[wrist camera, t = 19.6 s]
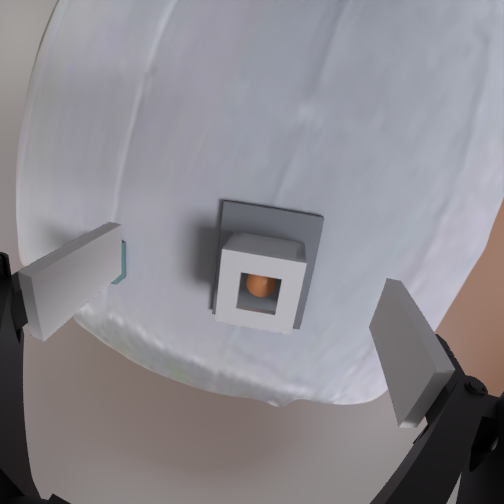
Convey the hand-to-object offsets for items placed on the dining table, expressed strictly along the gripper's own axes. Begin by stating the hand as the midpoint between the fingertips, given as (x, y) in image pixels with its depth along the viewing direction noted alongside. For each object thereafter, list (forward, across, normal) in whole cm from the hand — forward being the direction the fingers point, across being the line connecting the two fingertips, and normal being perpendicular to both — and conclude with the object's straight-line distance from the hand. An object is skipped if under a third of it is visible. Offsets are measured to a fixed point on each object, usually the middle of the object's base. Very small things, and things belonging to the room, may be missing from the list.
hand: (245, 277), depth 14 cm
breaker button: (+28, 0, -12) cm, 31 cm away
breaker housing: (+30, 0, -12) cm, 32 cm away
